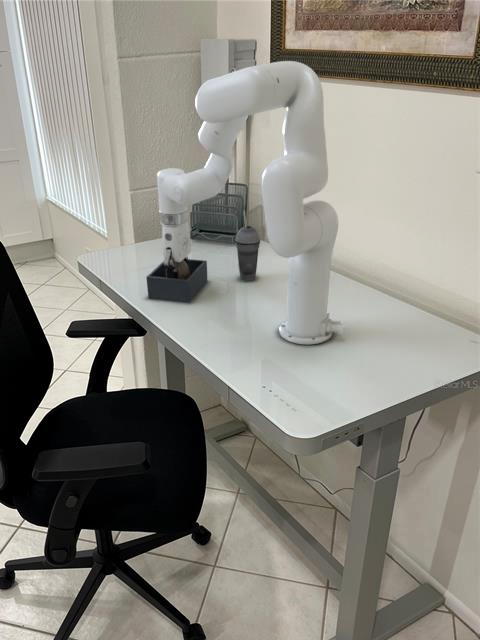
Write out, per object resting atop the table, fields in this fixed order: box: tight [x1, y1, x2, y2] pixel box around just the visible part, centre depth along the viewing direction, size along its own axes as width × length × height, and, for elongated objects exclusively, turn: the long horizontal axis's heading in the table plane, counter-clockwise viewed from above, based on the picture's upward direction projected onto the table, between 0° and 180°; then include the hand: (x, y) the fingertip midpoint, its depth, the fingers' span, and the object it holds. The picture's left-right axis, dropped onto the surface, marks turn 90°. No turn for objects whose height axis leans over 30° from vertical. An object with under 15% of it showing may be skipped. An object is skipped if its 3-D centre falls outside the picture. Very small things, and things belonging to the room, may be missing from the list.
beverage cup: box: [234, 209, 261, 282], centre depth 169 cm, size 7×7×20 cm
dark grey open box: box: [145, 258, 209, 304], centre depth 168 cm, size 12×15×7 cm
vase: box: [166, 258, 190, 280], centre depth 166 cm, size 7×7×9 cm
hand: (178, 278), depth 168 cm, fingers closed on vase, 7 cm apart
